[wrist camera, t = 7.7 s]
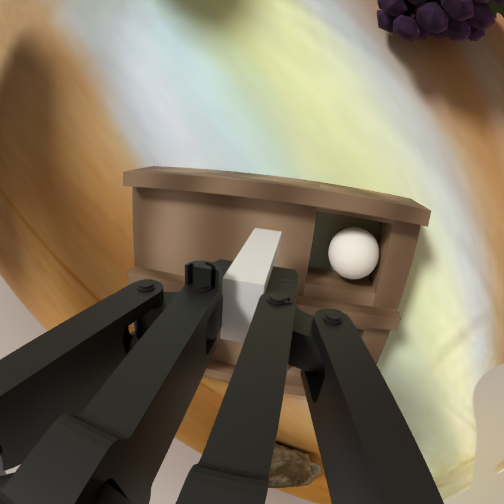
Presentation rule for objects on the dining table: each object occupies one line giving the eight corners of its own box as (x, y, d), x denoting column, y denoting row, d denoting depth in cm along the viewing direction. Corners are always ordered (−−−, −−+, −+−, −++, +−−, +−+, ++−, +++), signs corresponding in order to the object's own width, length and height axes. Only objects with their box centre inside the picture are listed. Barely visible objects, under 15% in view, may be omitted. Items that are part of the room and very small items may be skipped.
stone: (206, 458, 32) (206, 485, 25) (232, 413, 35) (237, 434, 27) (287, 485, 32) (302, 513, 25) (313, 443, 35) (334, 465, 27)
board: (158, 332, 28) (138, 357, 24) (153, 166, 22) (123, 171, 19) (361, 370, 25) (364, 402, 21) (410, 198, 19) (431, 210, 15)
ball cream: (314, 272, 21) (354, 293, 18) (321, 223, 19) (365, 239, 17) (344, 263, 23) (382, 280, 20) (352, 219, 21) (392, 232, 19)
